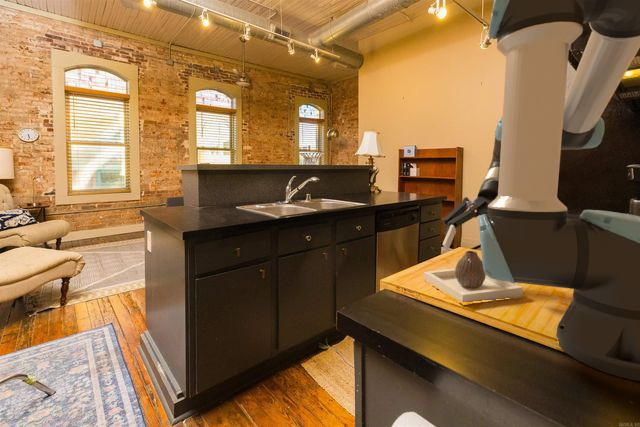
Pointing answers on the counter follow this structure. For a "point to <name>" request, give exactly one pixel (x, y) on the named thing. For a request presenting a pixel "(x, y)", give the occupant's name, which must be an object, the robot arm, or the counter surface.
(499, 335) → the counter surface
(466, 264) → the vase
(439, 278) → the tray
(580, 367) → the counter surface
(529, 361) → the counter surface
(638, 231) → the robot arm
